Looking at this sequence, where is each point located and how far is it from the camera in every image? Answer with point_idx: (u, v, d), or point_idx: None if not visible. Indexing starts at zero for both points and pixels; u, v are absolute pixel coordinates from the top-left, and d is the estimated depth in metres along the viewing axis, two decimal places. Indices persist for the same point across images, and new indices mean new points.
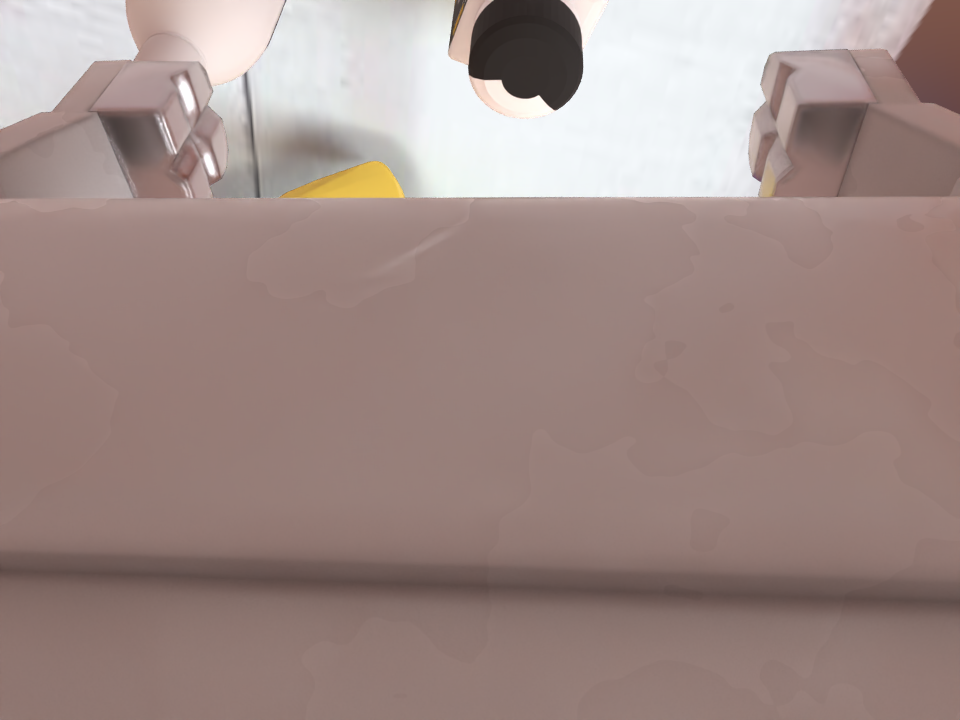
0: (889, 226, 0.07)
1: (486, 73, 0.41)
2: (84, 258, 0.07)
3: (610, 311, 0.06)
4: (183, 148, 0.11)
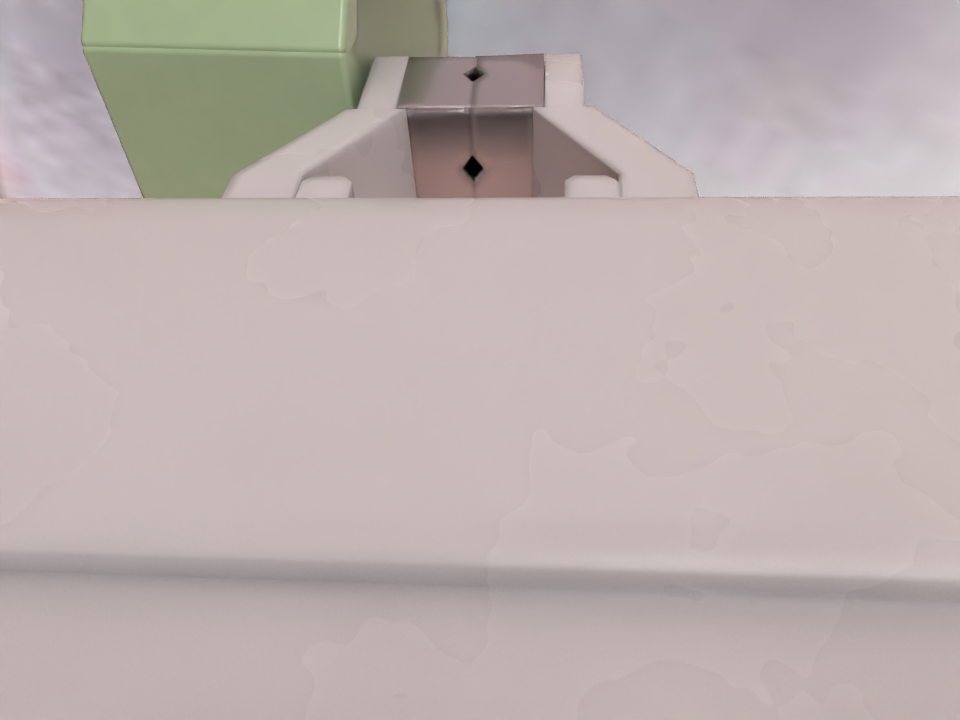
0: (889, 226, 0.07)
1: None
2: (84, 258, 0.07)
3: (610, 313, 0.06)
4: None
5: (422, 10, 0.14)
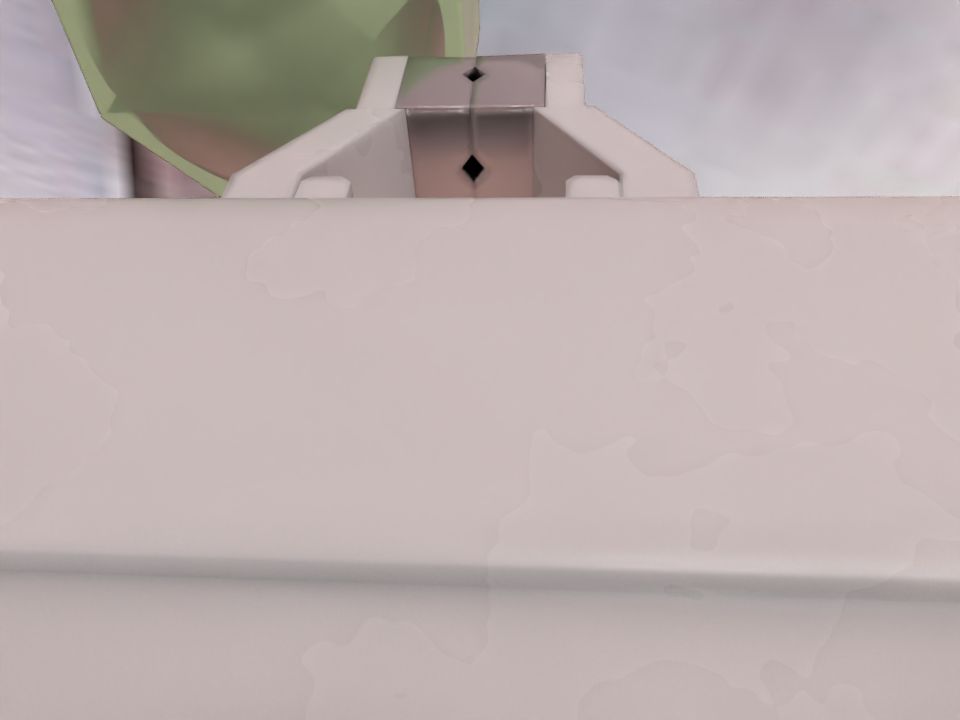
0: (889, 226, 0.07)
1: None
2: (84, 258, 0.07)
3: (610, 311, 0.06)
4: None
5: (329, 37, 0.14)
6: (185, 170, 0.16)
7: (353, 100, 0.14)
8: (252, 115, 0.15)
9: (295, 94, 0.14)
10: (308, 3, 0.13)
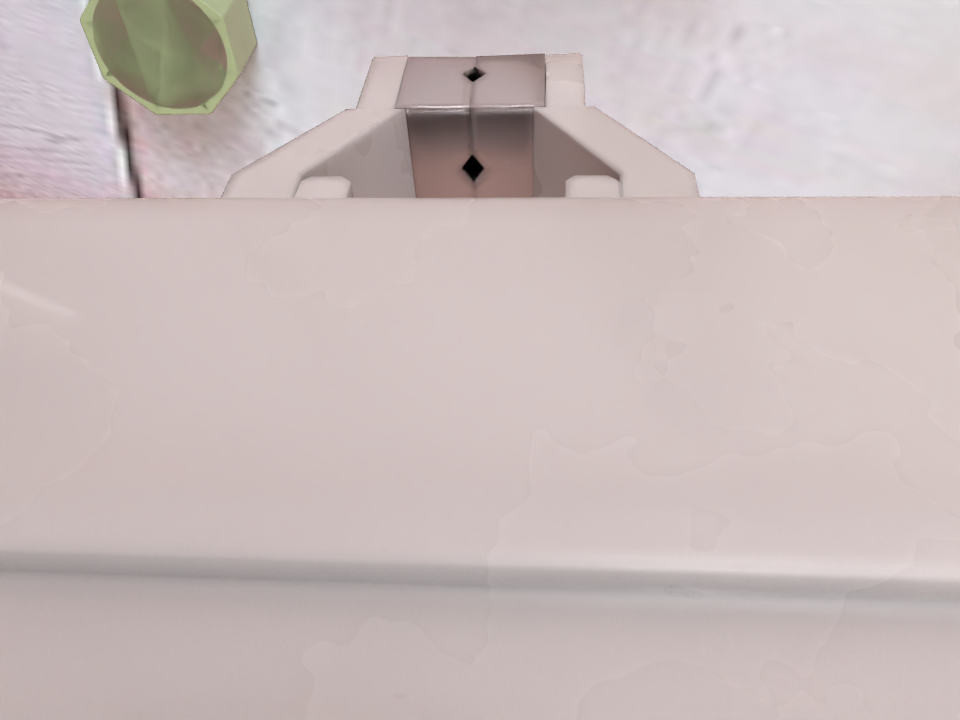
0: (889, 226, 0.07)
1: None
2: (84, 258, 0.07)
3: (611, 311, 0.06)
4: None
5: (184, 48, 0.38)
6: (136, 99, 0.41)
7: (196, 71, 0.39)
8: (160, 77, 0.40)
9: (175, 68, 0.39)
10: (175, 36, 0.38)
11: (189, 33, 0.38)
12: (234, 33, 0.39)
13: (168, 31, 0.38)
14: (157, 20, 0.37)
